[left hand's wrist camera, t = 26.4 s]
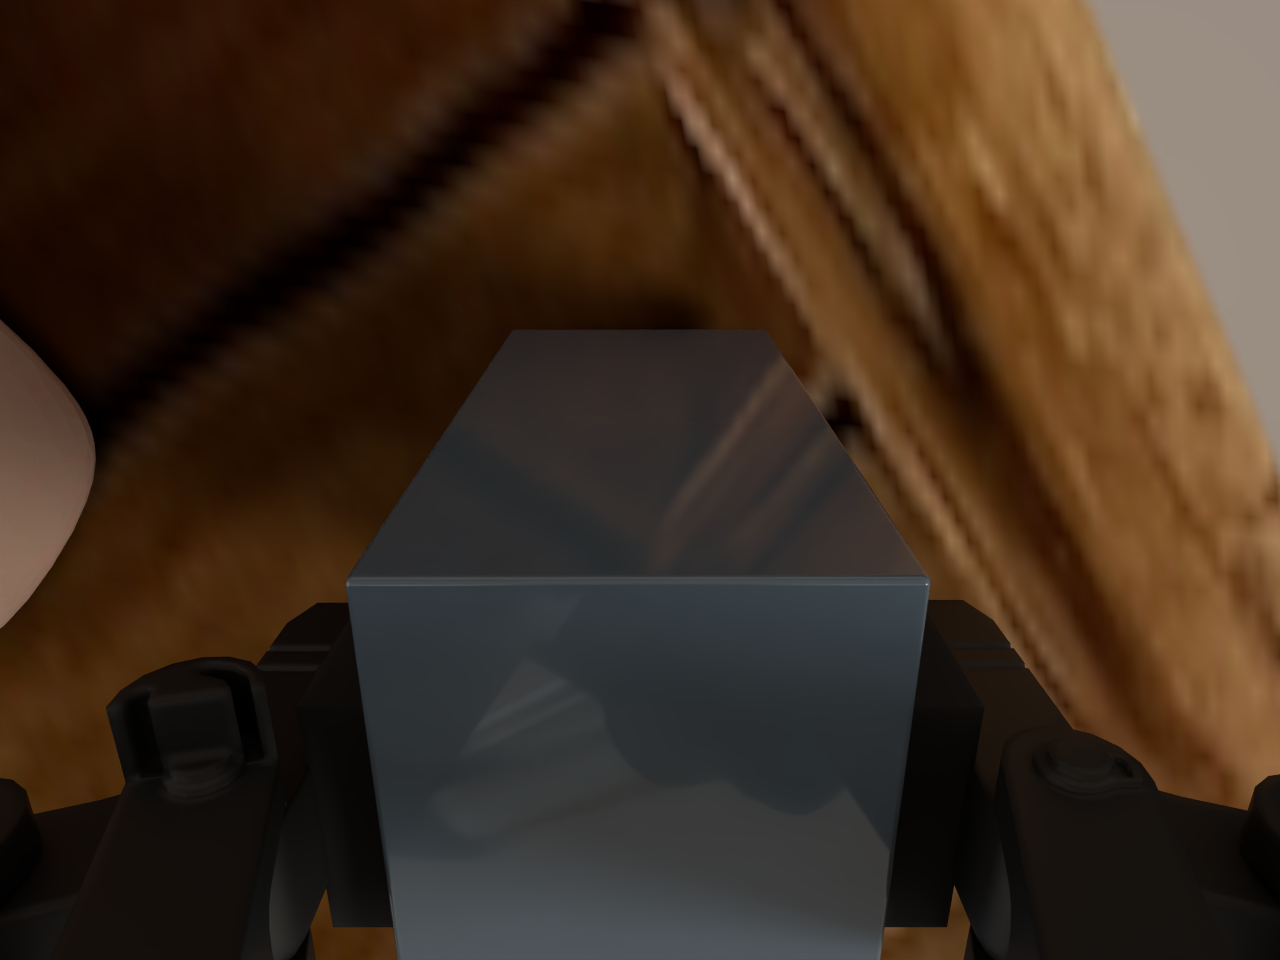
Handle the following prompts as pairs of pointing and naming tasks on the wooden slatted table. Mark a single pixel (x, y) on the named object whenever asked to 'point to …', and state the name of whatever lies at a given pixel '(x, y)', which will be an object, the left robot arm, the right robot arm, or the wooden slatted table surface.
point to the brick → (638, 664)
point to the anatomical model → (37, 469)
